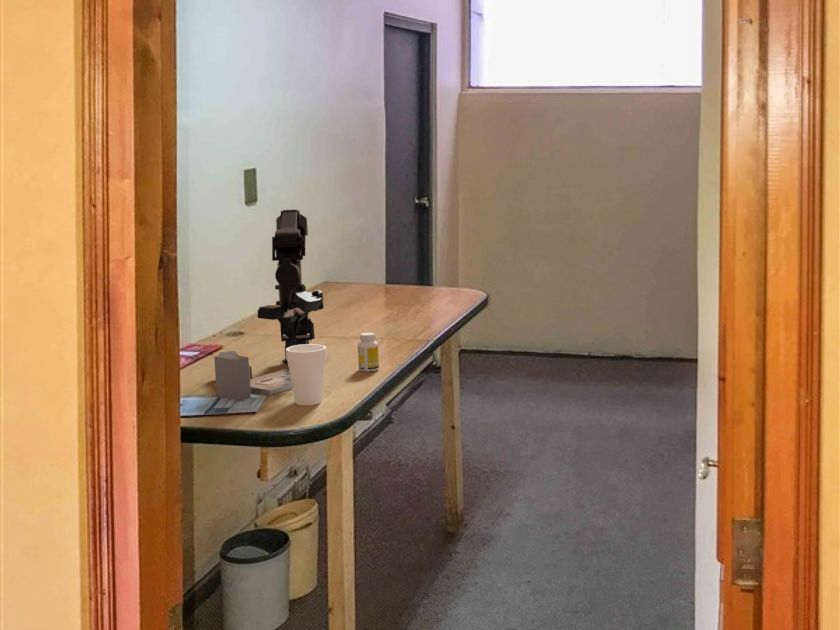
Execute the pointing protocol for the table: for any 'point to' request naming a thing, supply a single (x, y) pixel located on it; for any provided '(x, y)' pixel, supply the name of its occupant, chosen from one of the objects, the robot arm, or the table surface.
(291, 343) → the robot arm
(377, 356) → the supplement bottle
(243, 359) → the post
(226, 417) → the table surface
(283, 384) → the panel
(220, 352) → the bar
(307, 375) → the foam cup
